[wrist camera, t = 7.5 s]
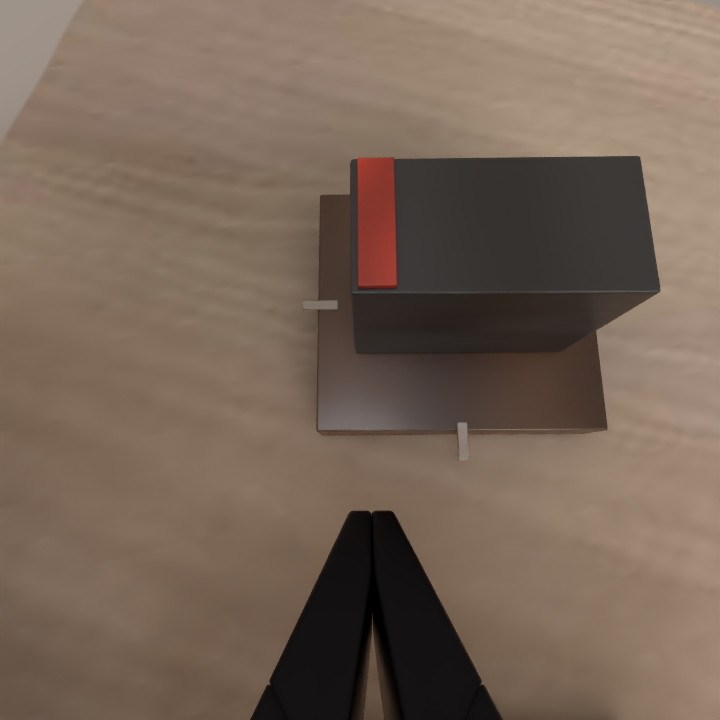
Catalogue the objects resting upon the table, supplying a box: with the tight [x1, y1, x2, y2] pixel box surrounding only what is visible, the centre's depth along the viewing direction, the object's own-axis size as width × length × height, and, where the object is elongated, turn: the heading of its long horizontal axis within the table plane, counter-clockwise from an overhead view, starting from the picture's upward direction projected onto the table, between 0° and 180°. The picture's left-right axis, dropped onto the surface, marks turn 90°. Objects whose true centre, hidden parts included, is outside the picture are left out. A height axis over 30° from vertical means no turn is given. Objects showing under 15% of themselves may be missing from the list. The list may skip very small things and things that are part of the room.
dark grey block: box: [350, 156, 660, 353], centre depth 16 cm, size 8×4×7 cm, turn 90°
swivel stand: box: [303, 195, 607, 461], centre depth 20 cm, size 12×12×2 cm
